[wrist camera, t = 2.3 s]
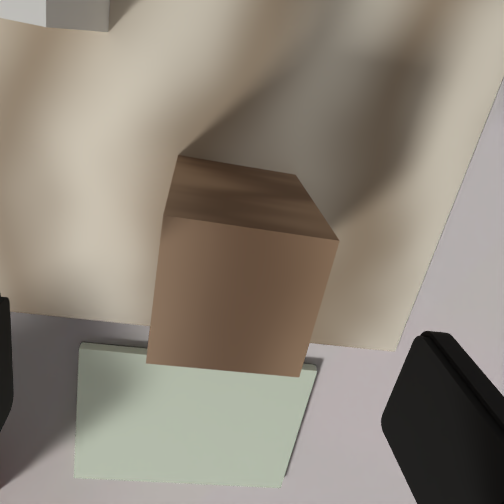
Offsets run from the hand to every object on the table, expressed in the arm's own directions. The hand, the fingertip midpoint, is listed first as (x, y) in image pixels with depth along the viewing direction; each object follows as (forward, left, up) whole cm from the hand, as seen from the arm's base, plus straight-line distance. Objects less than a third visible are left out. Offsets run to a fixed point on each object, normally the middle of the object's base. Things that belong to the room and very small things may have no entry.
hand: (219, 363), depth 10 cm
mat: (-1, +12, -10) cm, 16 cm away
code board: (0, -4, -10) cm, 11 cm away
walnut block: (-1, 0, -10) cm, 10 cm away
